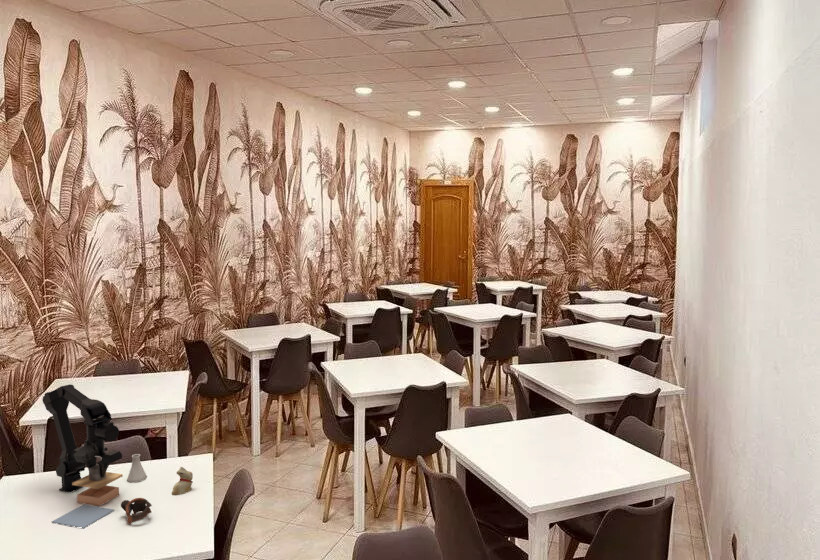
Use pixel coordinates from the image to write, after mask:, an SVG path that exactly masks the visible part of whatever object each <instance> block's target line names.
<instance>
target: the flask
mask: <svg viewBox="0 0 820 560" xmlns="http://www.w3.org/2000/svg"><path fill="white" fill-rule="evenodd" d="M131 458H132V461H131V466H130V469H129V473H128V475H127V479H126V481H127V482H129V483H140V482H142V481H144V480H146V479H147V477H148V476H147V473H146V471H145V470H144V467H143V465H142V462H141V454H140V453H135V454H132V455H131Z"/></svg>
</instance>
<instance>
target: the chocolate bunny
mask: <svg viewBox="0 0 820 560" xmlns="http://www.w3.org/2000/svg"><path fill="white" fill-rule="evenodd" d="M176 475H178V476H179V480H178V481H177V482H176V483H175V484H174V486H173V488H172V491H171V495H172V496H178V495H179V496H180V495H183V494H186V492H187V493H189V492H190V491H191V490H192V485H193V482H194V481H192V480H193V477H194V475H193V472H192V471H188V470H187V469H186V468H185V467H183V466H180V467H179V470H177V471H176ZM188 491H189V492H188Z"/></svg>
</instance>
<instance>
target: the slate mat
mask: <svg viewBox="0 0 820 560" xmlns="http://www.w3.org/2000/svg"><path fill="white" fill-rule="evenodd" d="M114 511H115V509H114V508H113V509H112V508H108V507H103V506H94V505H89V504H83V503H82V504H81V505H80V506H77V507H76V508H73V509H72V510H70V511H68V512H67V513H65V514H63V515H61V516H59V517H58V518H56V519H53V520H52V521H51V522H52V523H51V524H56V523H58V524H57V525H61V524H64V525H63V526H66V525H70V526H69V527H72V526H75V527H74V528H77V527H82V528H84V529H86V528H87V527H89V526H91V525H93V524H94V523H95V522H97V520H98V521H99V520H101V519H103V518H105V517H106V516H108V515H109V514H111V513H112V512H114ZM90 524H91V525H90ZM88 525H89V526H88ZM86 526H87V527H86ZM85 527H86V528H85ZM82 528H81V529H82Z"/></svg>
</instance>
